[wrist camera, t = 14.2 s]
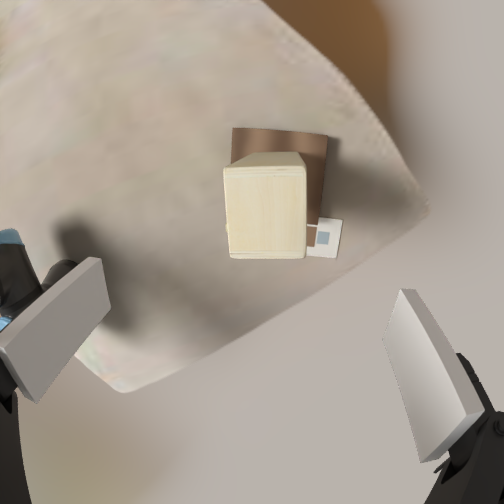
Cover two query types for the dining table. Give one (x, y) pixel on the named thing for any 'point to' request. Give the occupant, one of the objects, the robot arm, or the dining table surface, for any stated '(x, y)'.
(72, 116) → the dining table surface
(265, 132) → the walnut plinth
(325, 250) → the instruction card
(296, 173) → the toy refrigerator
